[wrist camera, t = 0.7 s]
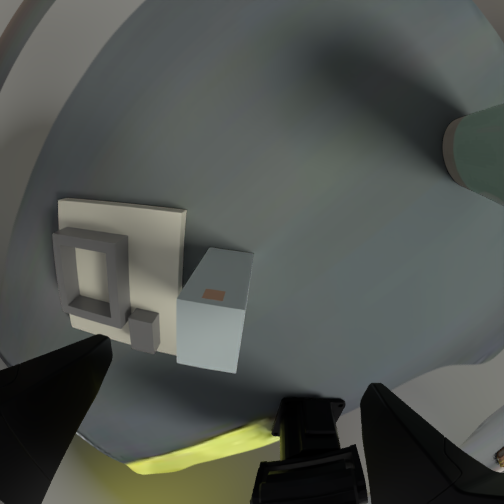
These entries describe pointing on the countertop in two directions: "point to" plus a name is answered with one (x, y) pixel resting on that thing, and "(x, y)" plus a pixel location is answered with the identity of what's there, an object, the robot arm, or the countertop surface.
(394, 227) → the countertop surface
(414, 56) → the countertop surface
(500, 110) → the coffee cup
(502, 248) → the countertop surface
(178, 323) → the plug
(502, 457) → the book
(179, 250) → the board
